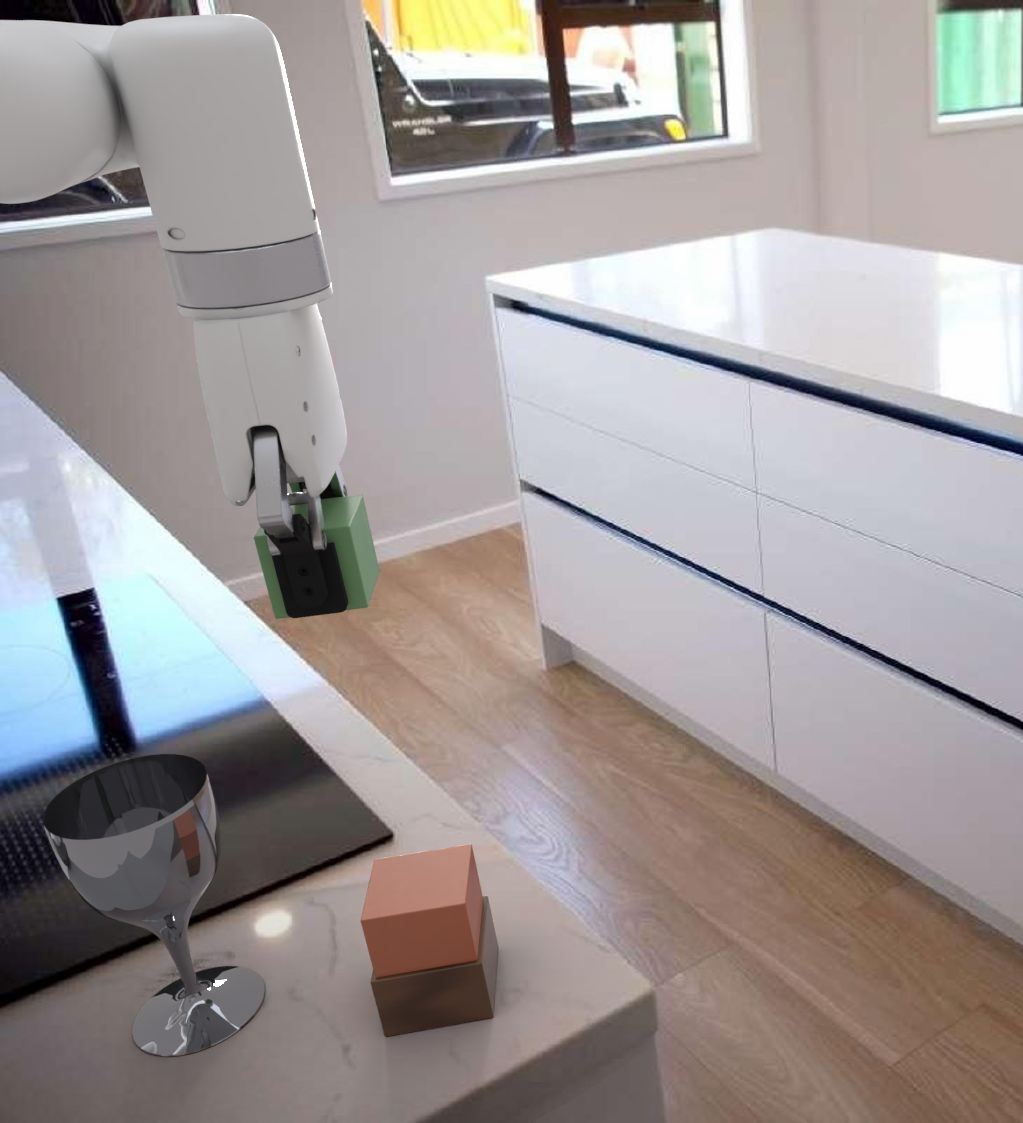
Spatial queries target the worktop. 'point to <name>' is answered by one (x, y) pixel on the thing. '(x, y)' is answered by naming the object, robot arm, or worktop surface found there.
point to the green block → (352, 547)
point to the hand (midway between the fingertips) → (327, 588)
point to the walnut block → (441, 989)
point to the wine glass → (155, 885)
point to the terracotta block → (423, 910)
